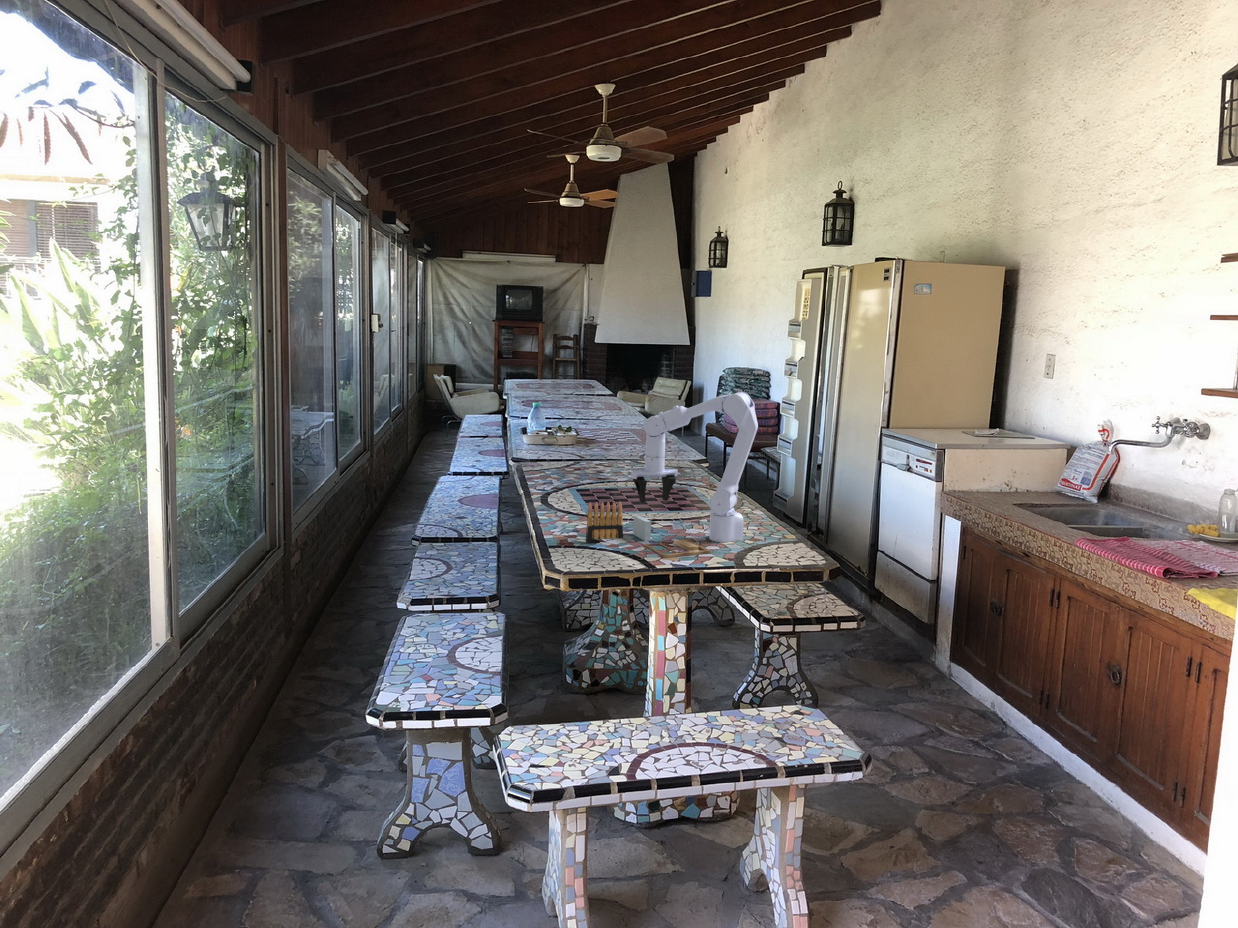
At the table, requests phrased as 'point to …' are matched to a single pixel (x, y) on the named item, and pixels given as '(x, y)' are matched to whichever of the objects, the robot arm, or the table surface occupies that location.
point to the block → (642, 528)
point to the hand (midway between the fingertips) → (653, 500)
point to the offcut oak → (686, 545)
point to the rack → (676, 554)
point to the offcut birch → (691, 550)
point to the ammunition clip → (604, 523)
